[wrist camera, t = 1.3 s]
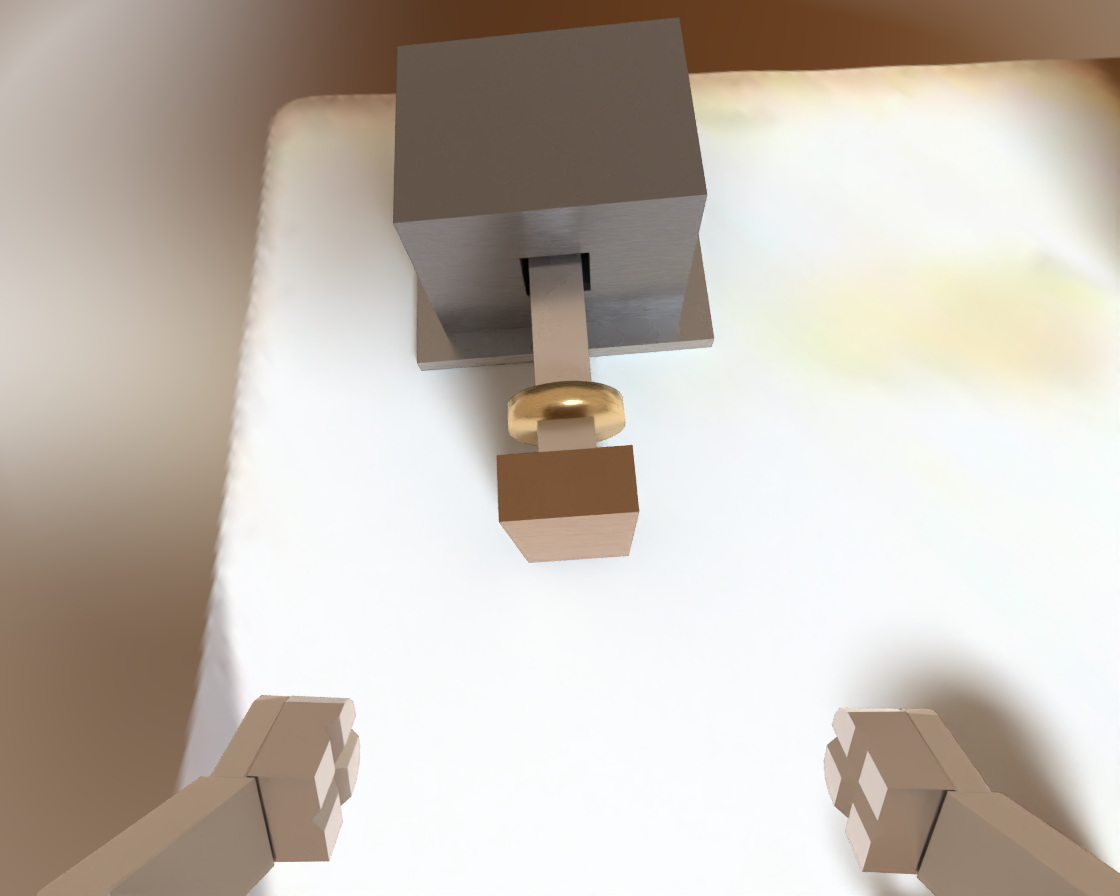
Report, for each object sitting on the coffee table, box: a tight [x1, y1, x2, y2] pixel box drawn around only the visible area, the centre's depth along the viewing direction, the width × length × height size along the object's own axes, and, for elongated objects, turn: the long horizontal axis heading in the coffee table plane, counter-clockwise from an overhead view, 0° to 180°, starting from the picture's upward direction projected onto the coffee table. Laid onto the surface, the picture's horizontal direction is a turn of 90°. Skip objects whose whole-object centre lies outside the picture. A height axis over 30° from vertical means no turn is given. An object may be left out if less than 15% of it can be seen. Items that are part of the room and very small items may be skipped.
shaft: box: [497, 253, 639, 563], centre depth 37 cm, size 21×6×12 cm, turn 3°
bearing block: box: [393, 18, 714, 371], centre depth 42 cm, size 18×20×13 cm
